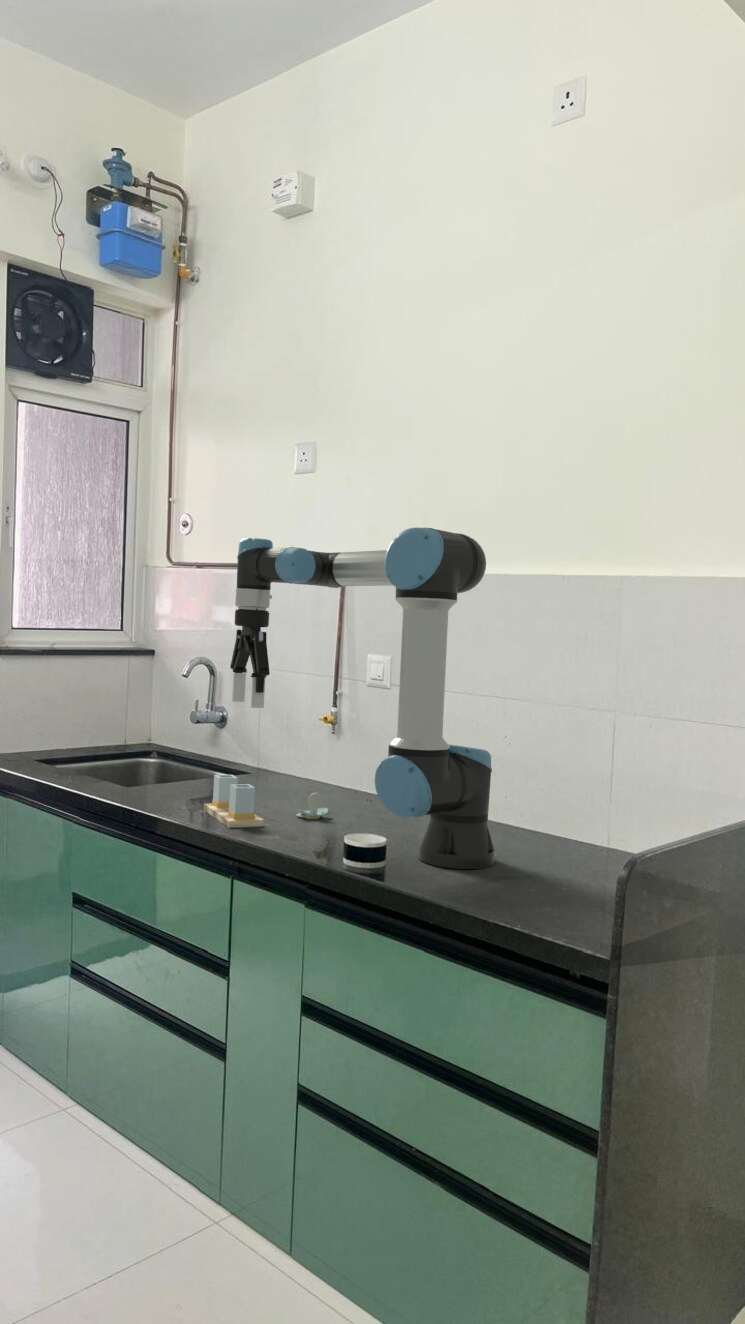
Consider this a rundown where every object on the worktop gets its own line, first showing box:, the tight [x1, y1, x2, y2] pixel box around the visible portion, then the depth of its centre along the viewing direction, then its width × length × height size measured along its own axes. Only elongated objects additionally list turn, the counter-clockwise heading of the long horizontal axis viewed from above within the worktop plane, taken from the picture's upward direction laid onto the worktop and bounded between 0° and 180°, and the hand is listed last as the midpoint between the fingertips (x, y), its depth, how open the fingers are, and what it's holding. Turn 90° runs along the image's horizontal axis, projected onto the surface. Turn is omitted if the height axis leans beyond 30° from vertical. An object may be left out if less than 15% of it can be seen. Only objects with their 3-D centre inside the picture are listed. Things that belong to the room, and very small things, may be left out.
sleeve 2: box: [228, 783, 256, 820], centre depth 225 cm, size 5×5×7 cm
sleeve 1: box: [211, 774, 239, 808], centre depth 237 cm, size 5×5×7 cm
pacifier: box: [296, 792, 329, 820], centre depth 237 cm, size 7×6×6 cm
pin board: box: [203, 802, 265, 829], centre depth 231 cm, size 20×8×6 cm, turn 25°
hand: (247, 704), depth 224 cm, fingers open, 13 cm apart
